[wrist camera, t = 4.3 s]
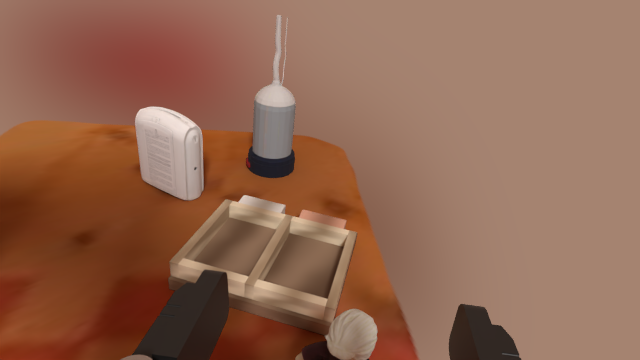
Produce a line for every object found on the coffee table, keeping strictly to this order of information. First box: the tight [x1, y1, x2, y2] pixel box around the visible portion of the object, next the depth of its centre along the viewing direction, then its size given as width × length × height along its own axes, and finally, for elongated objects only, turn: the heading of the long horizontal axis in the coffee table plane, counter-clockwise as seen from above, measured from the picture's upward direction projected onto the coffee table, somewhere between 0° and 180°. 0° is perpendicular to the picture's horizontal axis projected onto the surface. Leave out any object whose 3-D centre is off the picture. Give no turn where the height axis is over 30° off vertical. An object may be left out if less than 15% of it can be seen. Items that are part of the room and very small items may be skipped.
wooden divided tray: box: [168, 195, 357, 335], centre depth 46 cm, size 18×16×4 cm
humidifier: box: [246, 15, 295, 178], centre depth 62 cm, size 8×8×25 cm
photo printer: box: [135, 107, 204, 200], centre depth 55 cm, size 10×4×12 cm, turn 62°
